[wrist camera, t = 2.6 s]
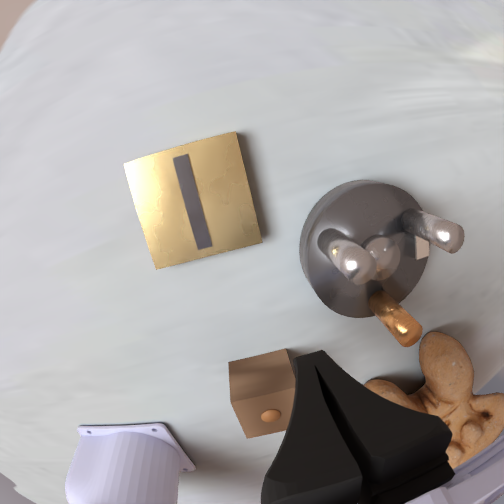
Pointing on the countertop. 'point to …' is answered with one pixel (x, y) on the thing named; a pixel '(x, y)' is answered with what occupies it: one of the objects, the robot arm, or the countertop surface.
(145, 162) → the pad
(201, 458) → the countertop surface
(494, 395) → the figurine
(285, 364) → the block
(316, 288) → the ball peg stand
